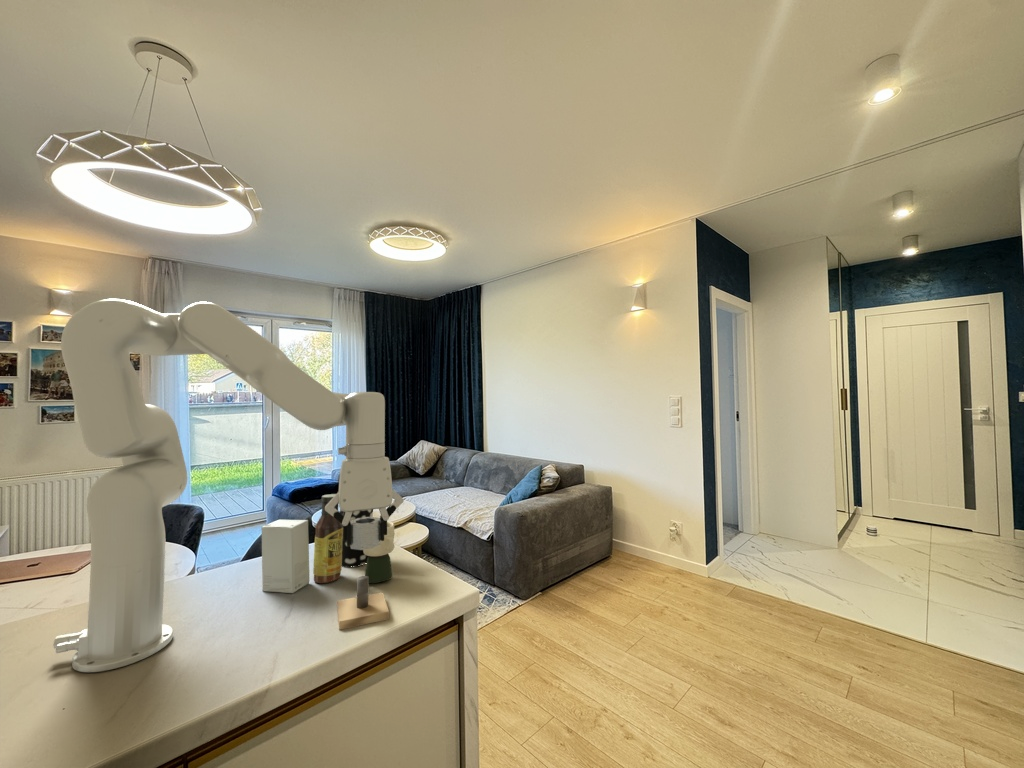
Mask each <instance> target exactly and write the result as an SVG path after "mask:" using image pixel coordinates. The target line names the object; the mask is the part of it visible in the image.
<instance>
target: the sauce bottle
mask: <svg viewBox="0 0 1024 768" xmlns="http://www.w3.org/2000/svg"><path fill="white" fill-rule="evenodd" d="M336 494H337V493H331V494H324V495H322V496H321V515H320V517H319V519H318V521H317V522H316V525H315V535H314V545H313V546H314V549H313V550H314V551H313V552H314V553H313V581H314V582H315V583H317V584H318V583H319V584H328V583H332V582H334V581H337V580H339V578H340V577H341V572H342V567H343V566H342V541H343V526H342V524H341V523H340V522H339V521H338V520H337V519H335V518H334V517H333V516H332V515H330V514H329V513H328V512H326V511H325V506H326V505H327V504H328V503H329V502H330V500H331V499H332V498H333V497H334V496H335V495H336ZM334 508H335V509H336V510H338V511H339V502H338V503H337V504H336V505H335V507H334Z"/></svg>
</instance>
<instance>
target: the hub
mask: <svg viewBox="0 0 1024 768" xmlns="http://www.w3.org/2000/svg"><path fill="white" fill-rule="evenodd" d="M380 522H381V520H380V517H377V516H376V517H375V516H373V517H364V518H357V519H355V520H352V521H350V523H351V545H350V547H351V549H356V550H364V549H371V548H374V547H376V546H378V545H380Z"/></svg>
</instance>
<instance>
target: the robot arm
mask: <svg viewBox="0 0 1024 768" xmlns="http://www.w3.org/2000/svg"><path fill="white" fill-rule="evenodd" d="M61 333H62V334H61V339H60V348H61V349H60V351H61V355H62V359H63V363H64V366H65V369H66V372H67V376H68V378H69V382H70V388H71V392H72V399H73V401H74V406H75V411H76V414H77V419H78V423H79V428H80V431H81V435H82V440H83V443H84V445H85V447H86V448H87V450H88V451H89V452H90V453H91V454H92V455H94V456H96V457H99V458H104V459H119V458H121V462H122V465H121V466H117V467H115V468H112V469H111V470H109V471H107V472H105V473H104V474H102V475H101V476H100V477H98V479H97V480H96V481H94V483H93V484H92V485H91V487H90V488H89V491H88V494H87V497H86V513H87V519H88V524H89V530H90V571H89V572H90V574H89V592H88V593H89V594H88V614H87V616H88V617H87V628H84V629H83V630H81V631H79V632H70V633H65V634H58V635H57V636H56V637H55V638H54V641H53V649H55V653H56V654H60V653H65V652H68V651H69V652H70V651H75V653H74V655H73V656H72V660H71V661H72V662H71V666H72V668H73V669H74V670H75V671H77V672H81V673H97V672H98V673H101V672H106V671H110V670H114V669H115V670H116V669H119V668H122V667H125V666H129V665H132V664H134V663H137V662H139V661H142V660H144V659H146V658H149V657H150V656H152V655H154V654H156V653H158V652H160V651H161V650H162V649H163V648H165V647H166V646H167V645H168V644H170V643H171V641H172V639H173V637H174V628H173V627H172V626H171V625H168V624H165V623H164V622H163V619H164V618H163V617H164V598H165V597H164V596H165V594H164V593H165V575H166V574H165V573H166V572H165V568H166V542H167V541H166V539H167V538H166V536H167V535H166V526H165V522H164V518H163V517H164V516H163V508H164V507H167V506H168V505H170V504H172V503H173V502H174V501H176V500H177V499H179V497H180V496H182V494H183V493H184V491H185V490H186V487H187V484H188V471H187V466H186V462H185V457H184V453H183V449H182V446H181V445H182V444H181V440H180V436H179V433H178V429H177V425H176V423H175V421H174V419H173V418H172V416H171V415H170V414H169V413H168V412H167V410H164V409H163V408H161V407H159V406H157V405H154V404H149V403H146V402H145V399H144V396H143V393H142V390H141V383H140V379H139V376H138V373H137V371H136V370H135V367H134V366H133V363H132V361H131V360H130V355H129V353H130V352H132V353H135V354H136V353H137V354H140V355H146V356H153V357H154V356H156V357H161V356H162V357H163V356H165V357H168V356H186V355H187V356H188V355H192V356H193V355H207V356H209V357H210V358H212V359H213V360H215V361H216V362H217V363H219V364H221V365H222V366H223V367H225V368H226V369H228V370H229V371H230V372H232V373H233V374H235V375H236V376H238V378H240V379H242V381H244V382H246V383H247V384H248V385H249V386H251V388H253V389H254V390H256V391H257V392H259V393H260V394H261V395H263V396H264V397H265V398H267V399H268V400H270V401H271V402H272V403H273V404H275V405H276V406H277V407H279V408H281V409H282V410H283V411H285V412H286V414H289V415H290V416H292V417H293V418H294V419H296V420H298V421H299V422H300V423H302V424H303V425H305V426H306V427H309V428H310V429H313V430H316V431H326V430H330V429H333V428H334V427H342V426H345V445H344V446H342V447H338V449H337V450H338V452H337V453H338V455H342V456H344V457H345V458H344V459H342V460H341V465H340V470H339V471H340V473H339V480H338V481H339V482H338V491H337V493H335V494H336V495H335V496H334V497H333V498H332V499H331V500H330V502H329V503H328V504H327V505H326V506H325V511H326V512H328V513H329V514H330V515H332V516H333V517H334V518H335V519H337V520H338V521H339V522H340V523H341V524H342V525H343V541H346V542H347V546H350V545H351V523H350V518H351V515H352V512H354V511H363V510H372V509H373V510H379V513H380V516H379V519H380V520H381V522H380V540H381V541H384V535H387V522H388V521H389V519H390V517H391V516H392V515H393V514H394V513H395V512H396V511H397V509H398V508H399V507H400V506H401V505H403V503H404V500H405V499H404V498H403V497H402V496H401V495H400V494H399V493H398V492H396V490H394V489H393V484H392V483H393V482H392V480H393V479H392V469H391V463H390V458H389V457H388V456H385V453H386V451H385V450H386V449H385V448H386V447H385V446H386V445H385V444H386V443H385V441H386V438H385V437H386V434H385V432H386V431H385V429H386V427H385V425H386V424H385V423H386V422H385V421H386V420H385V419H386V417H385V416H386V412H385V410H386V400H385V396H384V394H382V393H381V392H376V391H359V392H358V391H357V392H351V393H340V392H333V391H331V389H328V388H327V387H325V386H324V385H323V384H321V383H320V382H318V381H317V380H316V379H314V378H313V377H312V376H310V375H309V374H308V373H306V372H305V371H303V370H302V369H301V368H300V367H298V366H297V365H296V364H295V363H294V362H293V361H292V360H290V359H289V357H288V356H287V355H286V353H285V352H284V351H283V350H282V349H280V348H279V347H278V346H277V345H275V344H273V343H272V342H271V341H270V340H268V339H267V338H265V337H263V336H262V335H261V334H260V333H258V332H257V331H256V330H254V329H253V328H252V327H250V326H249V325H247V324H246V323H245V322H244V321H243V320H241V319H239V318H238V316H236V315H235V314H234V313H232V312H230V311H229V310H227V309H225V308H224V307H223V306H221V305H219V304H217V303H213V302H210V301H208V302H207V301H199V302H198V301H197V302H194V303H191V304H190V305H188V306H186V307H185V308H183V310H182V311H181V312H180V313H161V312H158V311H156V310H154V309H152V308H149V307H147V306H145V305H142V304H139V303H137V302H134V301H131V300H126V299H120V298H107V299H106V298H105V299H101V300H97V301H94V302H91V303H88V304H87V305H84V306H83V307H81V308H80V309H79V310H77V311H76V312H75V313H73V315H72V316H71V317H70V318H69V320H68V321H67V322H66V324H65V326H64V327H63V330H62V332H61ZM393 500H394V501H393ZM338 502H339V503H338ZM337 503H338V508H339V509H338V510H336V509H335V508H334V507H335V505H336V504H337ZM340 509H341V510H342V511H344V513H343V514H342V513H341V512H340ZM163 623H164V624H163Z"/></svg>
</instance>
